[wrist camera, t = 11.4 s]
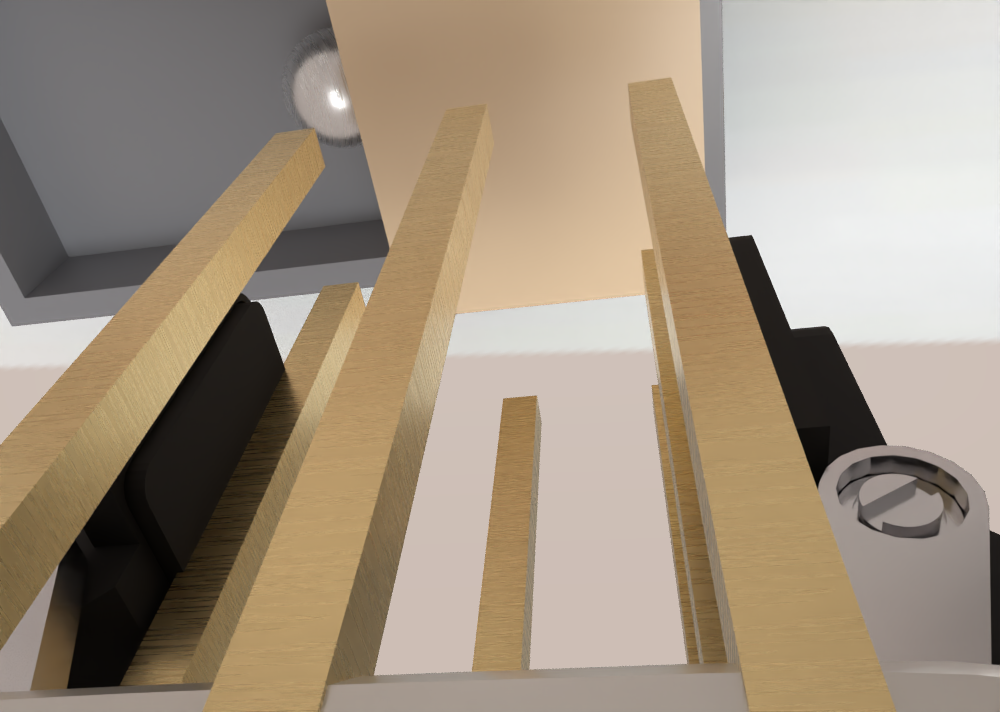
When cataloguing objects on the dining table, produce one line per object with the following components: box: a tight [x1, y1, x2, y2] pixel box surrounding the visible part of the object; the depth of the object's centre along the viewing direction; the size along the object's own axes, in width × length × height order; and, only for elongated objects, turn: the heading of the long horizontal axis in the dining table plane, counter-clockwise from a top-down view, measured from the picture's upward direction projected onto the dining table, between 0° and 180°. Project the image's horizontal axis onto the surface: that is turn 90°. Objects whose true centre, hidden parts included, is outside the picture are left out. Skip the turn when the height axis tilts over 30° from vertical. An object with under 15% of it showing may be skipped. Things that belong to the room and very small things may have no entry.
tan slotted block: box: [0, 77, 896, 712], centre depth 9 cm, size 6×6×11 cm
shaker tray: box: [0, 0, 726, 326], centre depth 24 cm, size 12×24×8 cm, turn 99°
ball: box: [282, 27, 363, 148], centre depth 25 cm, size 3×3×3 cm
